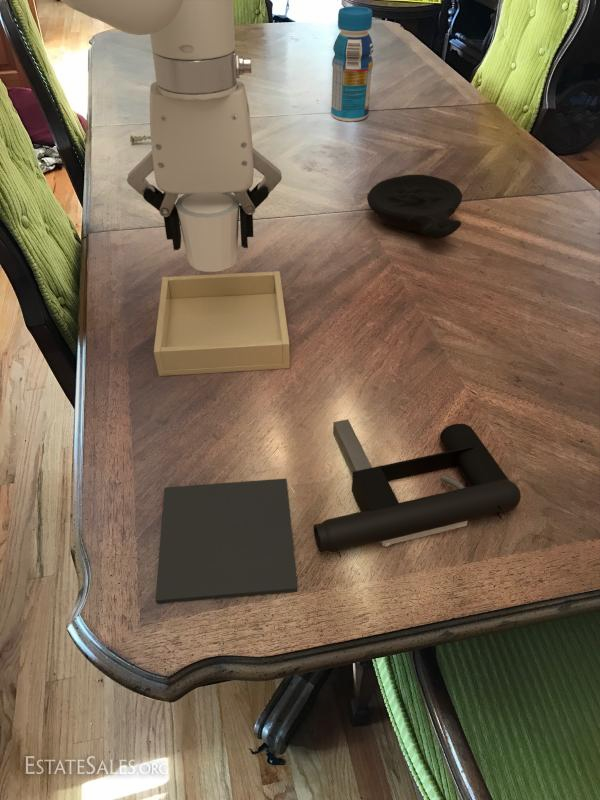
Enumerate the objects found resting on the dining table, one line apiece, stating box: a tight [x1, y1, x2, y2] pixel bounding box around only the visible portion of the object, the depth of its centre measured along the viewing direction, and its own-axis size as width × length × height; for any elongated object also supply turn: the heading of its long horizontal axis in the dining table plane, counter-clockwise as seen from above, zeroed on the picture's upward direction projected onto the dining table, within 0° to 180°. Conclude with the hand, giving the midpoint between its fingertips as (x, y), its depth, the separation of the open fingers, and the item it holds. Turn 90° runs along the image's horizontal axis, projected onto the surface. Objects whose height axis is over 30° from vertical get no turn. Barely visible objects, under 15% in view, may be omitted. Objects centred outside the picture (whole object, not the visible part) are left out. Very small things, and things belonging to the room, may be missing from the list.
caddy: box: [153, 270, 291, 377], centre depth 78 cm, size 16×16×4 cm
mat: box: [155, 478, 298, 604], centre depth 57 cm, size 12×12×1 cm
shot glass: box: [175, 193, 240, 273], centre depth 69 cm, size 7×7×7 cm
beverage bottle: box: [330, 5, 374, 122], centre depth 128 cm, size 8×8×20 cm
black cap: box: [366, 174, 463, 240], centre depth 97 cm, size 15×20×5 cm
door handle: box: [313, 418, 522, 558], centre depth 61 cm, size 3×20×16 cm
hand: (211, 242), depth 70 cm, fingers closed on shot glass, 6 cm apart
